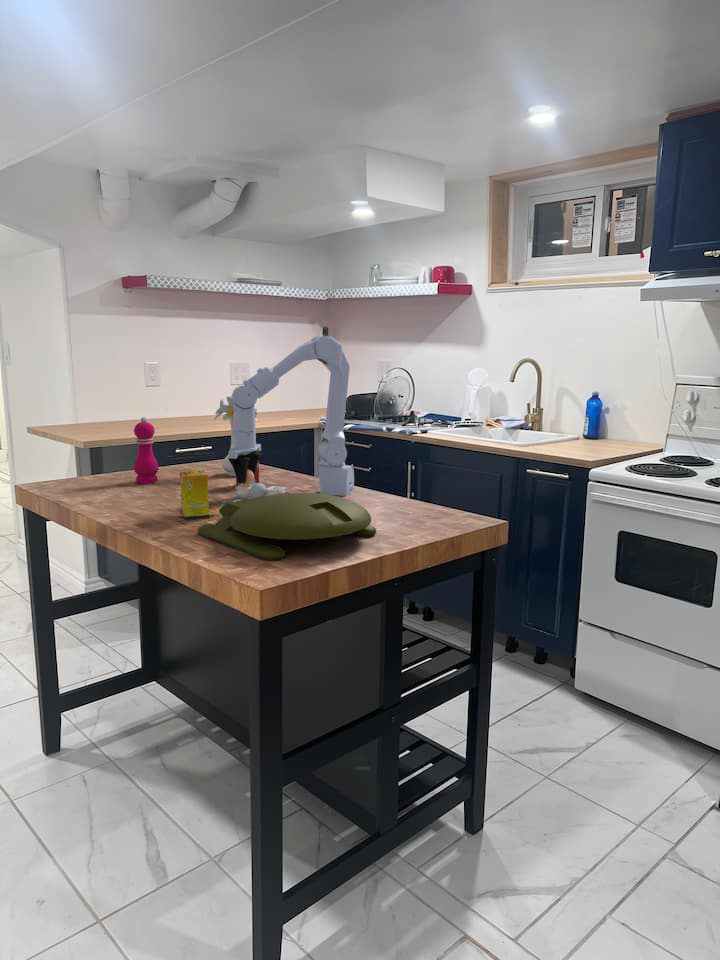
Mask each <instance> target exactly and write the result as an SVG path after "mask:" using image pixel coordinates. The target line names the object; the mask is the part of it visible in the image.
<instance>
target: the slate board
mask: <svg viewBox="0 0 720 960" xmlns="http://www.w3.org/2000/svg"><path fill="white" fill-rule="evenodd" d="M266 496H267V494H266ZM252 498H253V497H250V498H248V499H252ZM240 500H246V499H240V498H238V497H237V494H236V495H234V496H232V497H229V498H227V499H224V500H222V501H219V504H226V503H229V502H235V501H240Z"/></svg>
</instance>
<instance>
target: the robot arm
mask: <svg viewBox="0 0 720 960" xmlns="http://www.w3.org/2000/svg"><path fill="white" fill-rule="evenodd" d="M312 360H313V361H314V360H317V361H319V362H321V363H322V364H323V365H324V367H326V369H327V370H329V372H330V376H329V383H328V385H329V386H328V394H327V405H326V414H325V423H324V425H325V426H324V430H323V432H322V434H321V440H320V442H319V444H317V455H318V456H319V458H320V461H319V463H318V470H319V471H318V473H319V474H318V479H319V480H318V489H319V491H318V492H319V494H328V495H333V496H340V497H342V496H343V497H347V496H349V495H351V494H353V493H355V492H354V491H355V471H354V467H353V466H352V465H346V462H345V461H346V459H347V456H348V450H347V448H346V438H345V437H346V436H345V433H344V426H345V425H344V424H345V417H346V416H345V415H346V407H347V395H348V389H349V388H348V387H349V379H350V378H349V377H350V365H349V362H348V360H347V358H346V354H345V353H344V351H343V346H342V344H341V343H340V342H339V341H338V340H337V339H335V338H334V337H333V336H330V335H324V336H323V335H317V336H315V337H312V338H311V340H307V341H305V342H304V343H303V344H301V345H300V346H298V347H297V348H296V349H294V350H292V352H291V353H289V354H288V355H287V356H285V357H284V358H283V359H282V360H281V361H279V362H278V363H277V364H275V365H274V366H273V367H267V366H265V367H264V368H262V367H260V368H258V369H256V371H257V372H256V373H255V374H254V375H253V376H252V377H250V378H249V379H247V380H246V379H244V380H243V381H242V383H243V385H238V386H237V387H235V388H234V389H233V391H232V393H231V395H230V397H231V399H232V401H233V403H234V404H235V405H234V414H233V417H234V446H233V447H231V446H230V448H231V450H230V449H229V450H228V454H229V461H230V463H231V465H232V466H233V469H234V471H235V475H236V476H235V479H236V478H237V482H238V483H246V478H247V469H249V470H251V471H252V472H253V474H254V478H255V474H256V469H257V465H258V462H259V463H260V460H261V458H262V457H263V456H262V455H263V454H262V444H261V443H257V441H256V439H257V434H256V433H257V431H256V420H255V413H254V408H255V405H256V403H257V400H258V399H261V398H262V397H264V396H265V395H267V394H268V393H269V392H271V391H272V390H273V389H275V388H276V387H277V386H278V385H279V383H280V378H282V377H283V376H284V375H286V374H287V373H288V372H290V371H292V369H294V368H296V367H298V365H300V364H302V363H303V362H305V361H312ZM256 451H257V453H256Z"/></svg>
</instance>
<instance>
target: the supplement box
mask: <svg viewBox="0 0 720 960" xmlns="http://www.w3.org/2000/svg"><path fill="white" fill-rule="evenodd" d="M179 477H180V481H179V482H180V497H181V498H180V499H181V502H180V503H181V515H182V517H184V520H185V519H190V520H199V519H198V518H202V519H209V518H210V509H209V508H210V506H209V503H210V502H209V484H208V483H209V481H208V480H209V479H208V474H207V473H206V472H205V470H193V471H192V470H190V471H189V470H187V471H180V472H179ZM196 518H197V519H196Z"/></svg>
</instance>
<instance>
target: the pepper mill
mask: <svg viewBox="0 0 720 960" xmlns="http://www.w3.org/2000/svg"><path fill="white" fill-rule="evenodd" d="M147 420H148V419H147V418H146V416H142V417H140V422H138V423H136V425H135V426H134V428H133V433H134V436H136V439H135V440H136V442H135V443H136V444H137V447H138V451H137V453H138V454H137V457H136V460H134V461H135V462H134V464H133V465H134V466H133V471H134V472H135V474H136V475H137V476H136V477H135V478H136V480H135V481H136V484H138V483H140V485H149V484H148V483H153V484H155V482H157V481H159V480H158V479H159V477H158V476H157V475H156V474H157V473H158V472H159V469H160V468H159V463H158V461H157V459H156V457H155V455H154V452H153V444H154V438H153V437H154V435H155V433H156V432H155V431H156V430H155V429H156V428H155V427H154V425H153V424H152V423H150V422H147ZM157 483H158V482H157Z"/></svg>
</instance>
